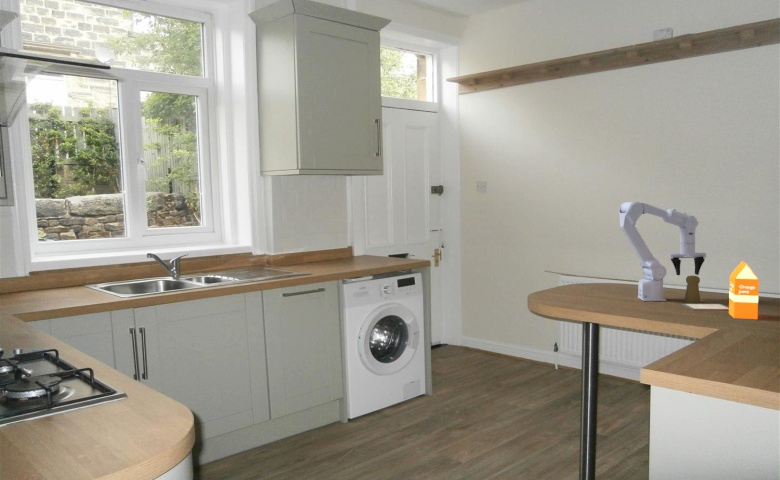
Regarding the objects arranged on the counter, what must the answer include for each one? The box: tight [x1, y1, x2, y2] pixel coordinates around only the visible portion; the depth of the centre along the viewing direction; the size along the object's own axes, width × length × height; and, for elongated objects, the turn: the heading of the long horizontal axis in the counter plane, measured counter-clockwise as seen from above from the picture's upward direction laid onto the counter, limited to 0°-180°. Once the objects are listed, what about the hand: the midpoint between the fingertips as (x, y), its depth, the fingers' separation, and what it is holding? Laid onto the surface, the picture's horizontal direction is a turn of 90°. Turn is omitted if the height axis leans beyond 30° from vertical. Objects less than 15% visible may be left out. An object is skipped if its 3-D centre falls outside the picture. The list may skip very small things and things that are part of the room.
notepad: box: [681, 303, 729, 311], centre depth 235 cm, size 15×11×1 cm
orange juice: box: [728, 261, 760, 320], centre depth 217 cm, size 8×9×20 cm
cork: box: [683, 275, 701, 304], centre depth 246 cm, size 6×6×11 cm
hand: (687, 274), depth 253 cm, fingers open, 7 cm apart
